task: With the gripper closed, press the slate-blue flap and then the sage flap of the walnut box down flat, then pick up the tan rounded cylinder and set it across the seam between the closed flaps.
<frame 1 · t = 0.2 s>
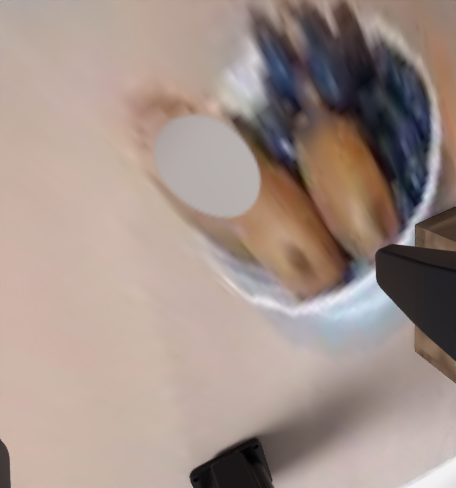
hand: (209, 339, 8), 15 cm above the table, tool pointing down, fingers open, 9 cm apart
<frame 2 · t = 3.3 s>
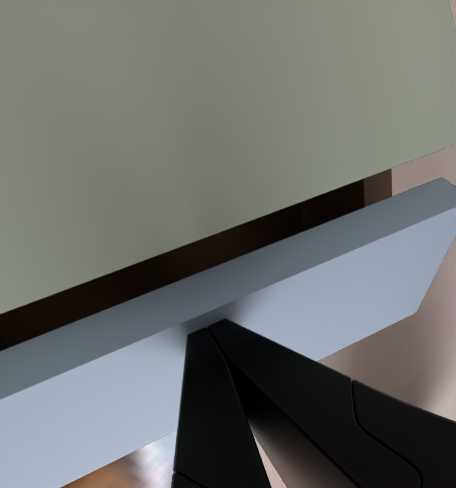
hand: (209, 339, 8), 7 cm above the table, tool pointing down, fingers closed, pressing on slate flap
walnut box: (132, 184, 14), on the table
slate flap: (207, 352, 10), point 6 cm above the table, hinge at 20.0°, touching gripper
sage flap: (131, 117, 7), point 6 cm above the table, hinge at 20.0°
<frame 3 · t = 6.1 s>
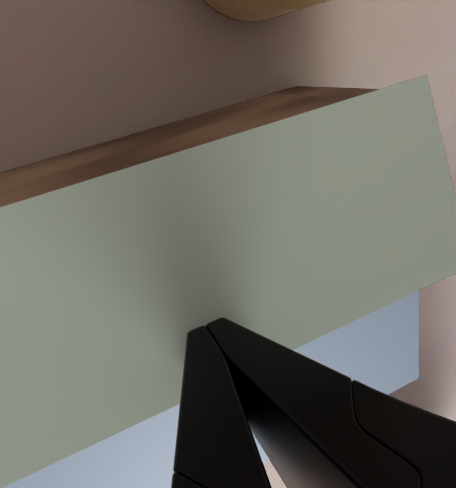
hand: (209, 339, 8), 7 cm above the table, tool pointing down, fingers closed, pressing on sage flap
walnut box: (160, 263, 15), on the table
slate flap: (223, 408, 12), point 6 cm above the table, hinge at -1.6°, touching walnut box
sage flap: (182, 274, 8), point 6 cm above the table, hinge at 19.4°, touching gripper
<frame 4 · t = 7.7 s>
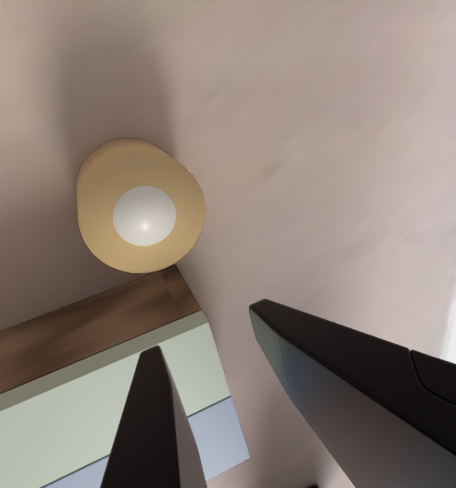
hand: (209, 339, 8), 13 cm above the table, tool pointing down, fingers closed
walnut box: (88, 376, 23), on the table
slate flap: (112, 485, 19), point 6 cm above the table, hinge at -1.5°, touching walnut box
sage flap: (72, 419, 17), point 6 cm above the table, hinge at -1.5°, touching walnut box
tan rounded cylinder: (130, 190, 20), on the table
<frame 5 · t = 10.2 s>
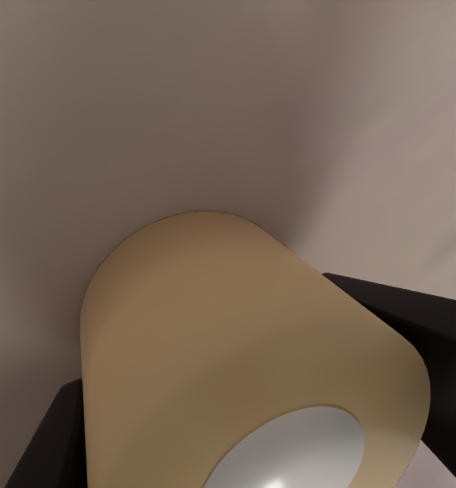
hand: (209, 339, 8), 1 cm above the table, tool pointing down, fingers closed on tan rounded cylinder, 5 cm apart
tan rounded cylinder: (195, 314, 9), on the table, touching gripper
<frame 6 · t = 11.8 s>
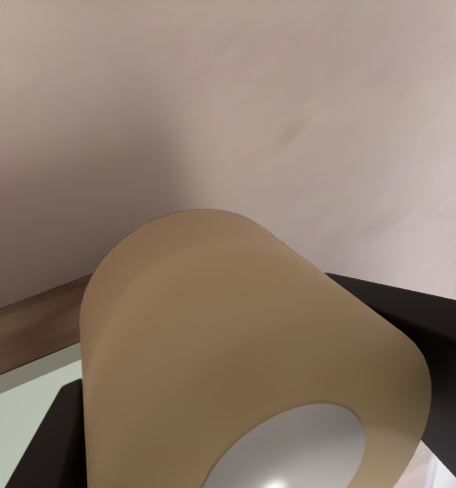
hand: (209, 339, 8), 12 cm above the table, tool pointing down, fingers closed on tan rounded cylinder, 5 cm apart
walnut box: (90, 362, 21), on the table
sage flap: (73, 408, 15), point 6 cm above the table, hinge at -1.0°
tan rounded cylinder: (195, 313, 9), point 11 cm above the table, touching gripper
when the fingers open (9 cm above the table, at t = 13.5 s): tan rounded cylinder drops 2 cm, resting on sage flap.
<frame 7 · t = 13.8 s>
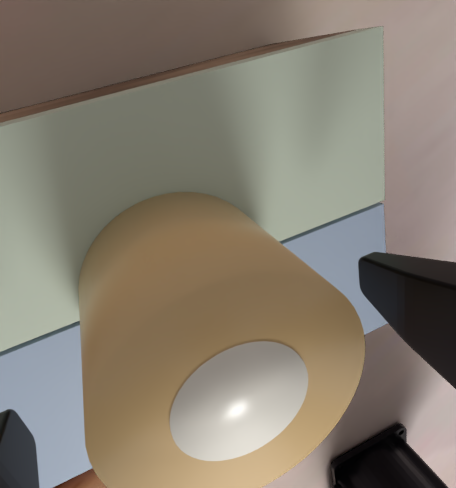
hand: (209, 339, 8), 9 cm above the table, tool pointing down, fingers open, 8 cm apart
walnut box: (142, 216, 16), on the table
slate flap: (196, 341, 12), point 6 cm above the table, hinge at -1.5°, touching walnut box
sage flap: (147, 195, 10), point 6 cm above the table, hinge at -1.0°, touching tan rounded cylinder
tan rounded cylinder: (180, 283, 10), point 6 cm above the table, touching sage flap
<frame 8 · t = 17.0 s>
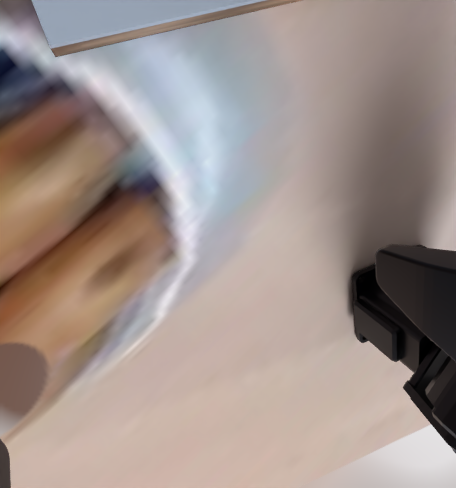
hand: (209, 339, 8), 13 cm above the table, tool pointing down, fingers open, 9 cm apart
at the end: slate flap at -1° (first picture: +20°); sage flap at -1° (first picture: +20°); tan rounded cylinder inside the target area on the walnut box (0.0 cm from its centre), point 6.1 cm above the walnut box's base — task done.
